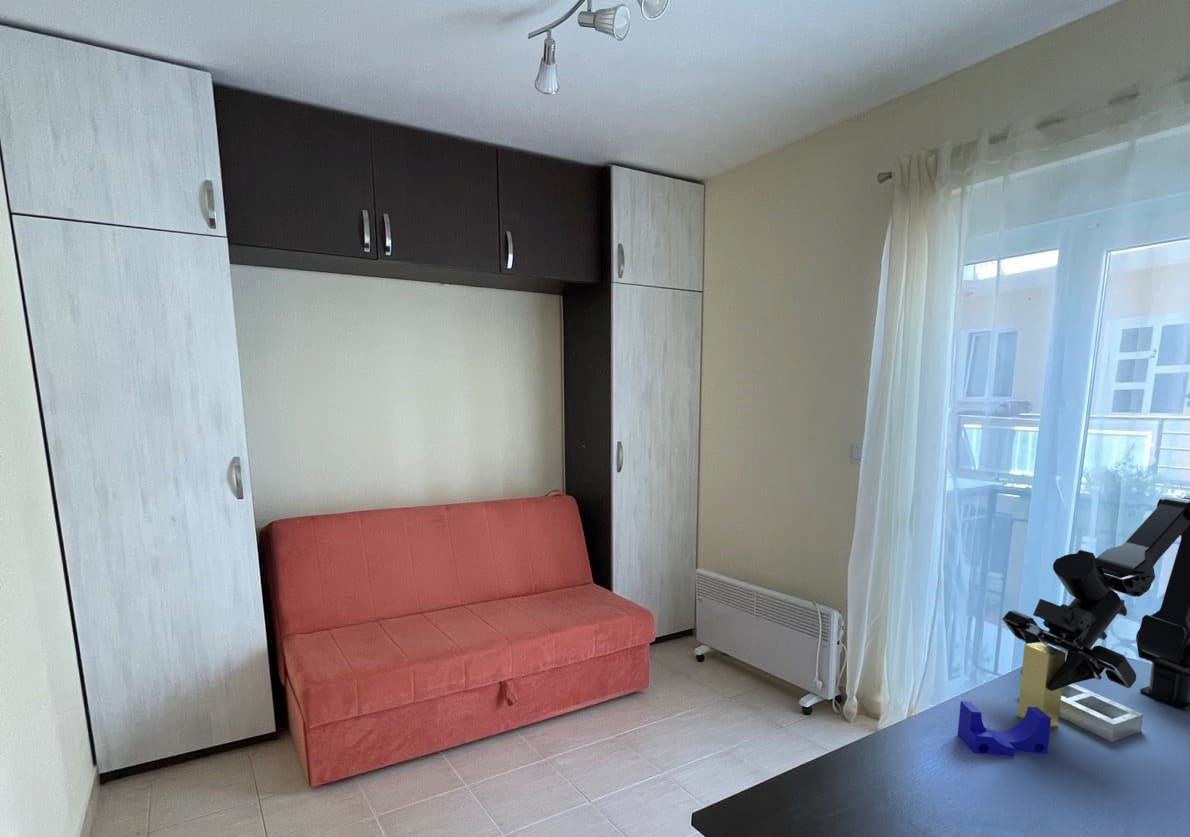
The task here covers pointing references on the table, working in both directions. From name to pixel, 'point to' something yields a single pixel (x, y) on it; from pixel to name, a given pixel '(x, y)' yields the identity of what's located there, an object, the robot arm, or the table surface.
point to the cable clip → (1004, 733)
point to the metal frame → (1098, 713)
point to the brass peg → (1040, 680)
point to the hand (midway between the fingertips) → (1035, 682)
